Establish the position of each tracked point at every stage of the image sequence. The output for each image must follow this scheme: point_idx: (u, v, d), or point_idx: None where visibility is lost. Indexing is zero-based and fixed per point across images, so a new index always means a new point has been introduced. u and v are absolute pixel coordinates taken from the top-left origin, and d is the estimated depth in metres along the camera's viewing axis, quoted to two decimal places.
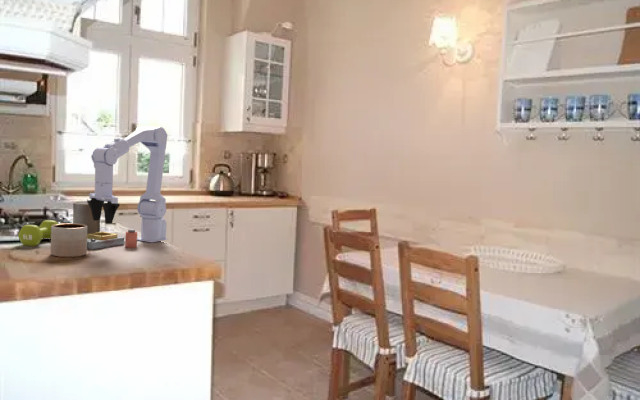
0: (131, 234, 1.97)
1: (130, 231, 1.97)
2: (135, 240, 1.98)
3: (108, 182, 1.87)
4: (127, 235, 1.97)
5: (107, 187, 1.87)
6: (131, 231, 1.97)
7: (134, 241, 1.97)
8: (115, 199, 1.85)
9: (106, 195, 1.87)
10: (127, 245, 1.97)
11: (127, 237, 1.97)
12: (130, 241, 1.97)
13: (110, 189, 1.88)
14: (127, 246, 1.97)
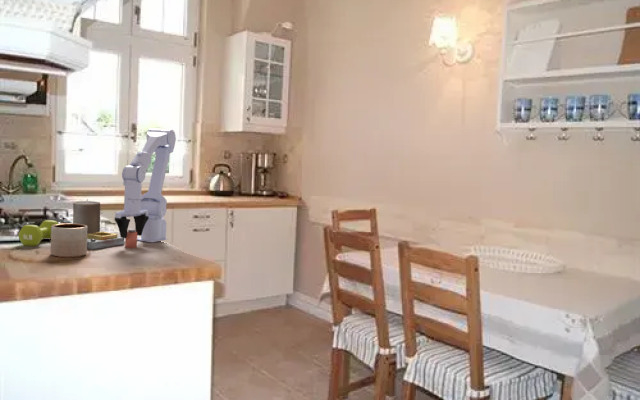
0: (131, 234, 1.97)
1: (130, 231, 1.97)
2: (135, 240, 1.98)
3: (138, 198, 1.96)
4: (127, 235, 1.97)
5: (126, 203, 1.95)
6: (131, 231, 1.97)
7: (134, 241, 1.97)
8: (117, 214, 1.91)
9: (125, 210, 1.95)
10: (127, 245, 1.97)
11: (127, 237, 1.97)
12: (130, 241, 1.97)
13: (129, 205, 1.95)
14: (127, 246, 1.97)
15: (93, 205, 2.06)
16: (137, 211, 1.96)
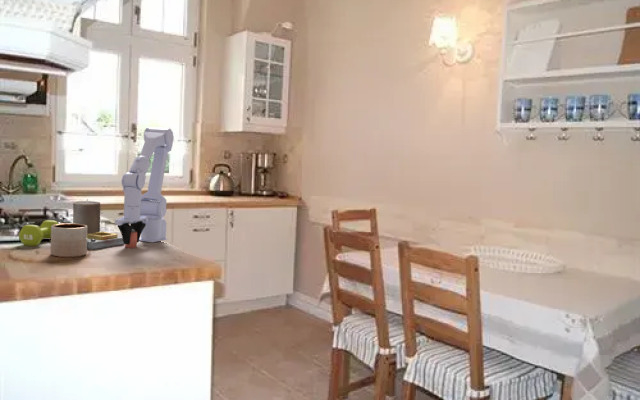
0: (131, 234, 1.97)
1: None
2: (135, 240, 1.98)
3: (138, 205, 1.96)
4: None
5: (126, 210, 1.95)
6: None
7: (134, 241, 1.97)
8: (117, 221, 1.91)
9: (125, 217, 1.96)
10: (127, 245, 1.97)
11: None
12: (130, 241, 1.97)
13: (129, 212, 1.95)
14: (127, 246, 1.97)
15: (93, 205, 2.06)
16: (137, 218, 1.96)
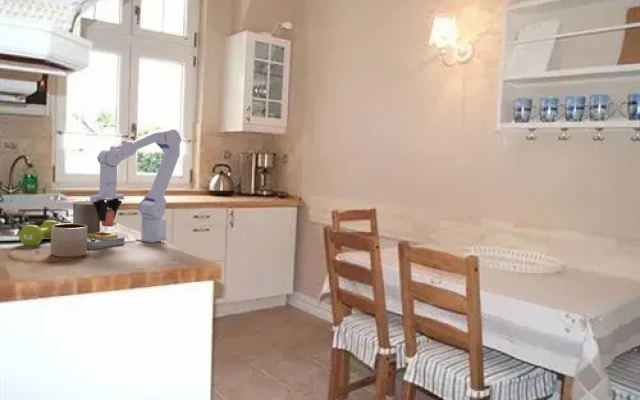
0: (108, 212, 1.97)
1: (107, 209, 1.98)
2: (112, 219, 1.98)
3: (110, 182, 1.96)
4: None
5: (101, 186, 1.96)
6: (108, 209, 1.98)
7: (111, 219, 1.98)
8: (92, 197, 1.92)
9: (100, 194, 1.96)
10: (104, 223, 1.97)
11: None
12: (107, 220, 1.97)
13: (104, 189, 1.96)
14: (104, 224, 1.97)
15: (93, 205, 2.06)
16: (112, 195, 1.97)
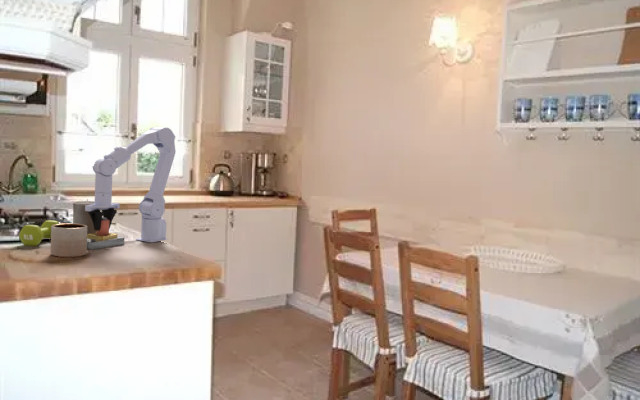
0: (103, 222, 1.98)
1: (102, 219, 1.98)
2: (107, 228, 1.99)
3: (104, 192, 1.96)
4: None
5: (96, 196, 1.96)
6: (103, 219, 1.98)
7: (106, 229, 1.99)
8: (87, 207, 1.93)
9: (95, 203, 1.97)
10: (99, 233, 1.98)
11: None
12: (102, 229, 1.98)
13: (99, 198, 1.96)
14: (99, 234, 1.98)
15: None
16: (107, 204, 1.98)
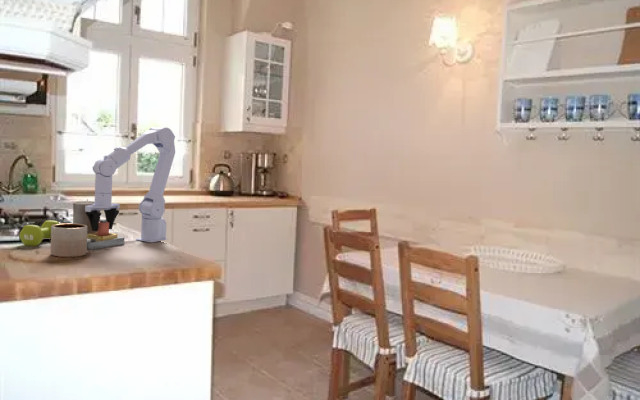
0: (103, 224, 1.98)
1: (102, 221, 1.98)
2: (107, 230, 1.99)
3: (104, 192, 1.96)
4: (99, 225, 1.98)
5: (96, 196, 1.96)
6: (103, 221, 1.99)
7: (106, 231, 1.99)
8: (87, 207, 1.93)
9: (95, 204, 1.97)
10: (99, 235, 1.98)
11: (99, 227, 1.98)
12: (102, 231, 1.98)
13: (99, 199, 1.96)
14: None
15: None
16: (107, 205, 1.98)
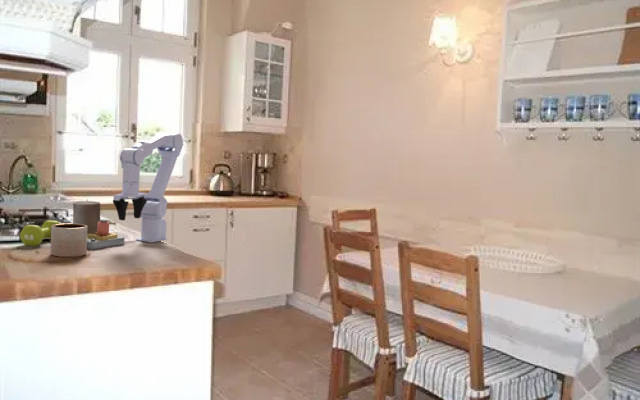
0: (103, 224, 1.98)
1: (102, 221, 1.99)
2: (107, 230, 1.99)
3: (136, 181, 1.97)
4: (99, 225, 1.98)
5: (124, 185, 1.96)
6: (103, 221, 1.99)
7: (106, 231, 1.99)
8: (115, 196, 1.92)
9: (123, 193, 1.96)
10: (99, 235, 1.98)
11: (99, 227, 1.98)
12: (103, 231, 1.98)
13: (127, 188, 1.96)
14: None
15: (93, 205, 2.06)
16: (135, 194, 1.97)
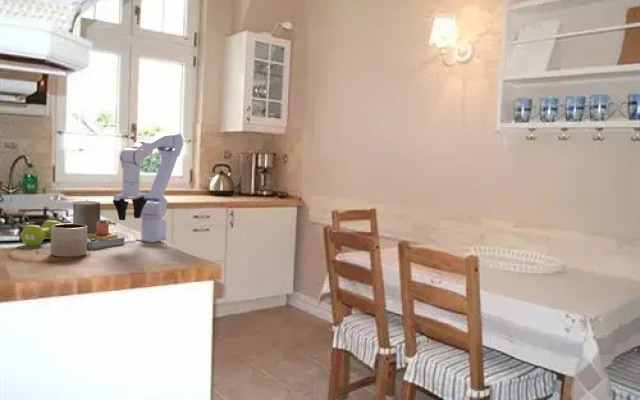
0: (103, 224, 1.98)
1: (101, 221, 1.98)
2: (107, 230, 1.99)
3: (136, 181, 1.97)
4: (99, 225, 1.98)
5: (124, 185, 1.96)
6: (103, 221, 1.98)
7: (106, 231, 1.99)
8: (115, 196, 1.92)
9: (123, 193, 1.96)
10: (99, 235, 1.98)
11: (99, 227, 1.98)
12: (102, 231, 1.98)
13: (127, 188, 1.96)
14: None
15: (93, 205, 2.06)
16: (135, 194, 1.97)
